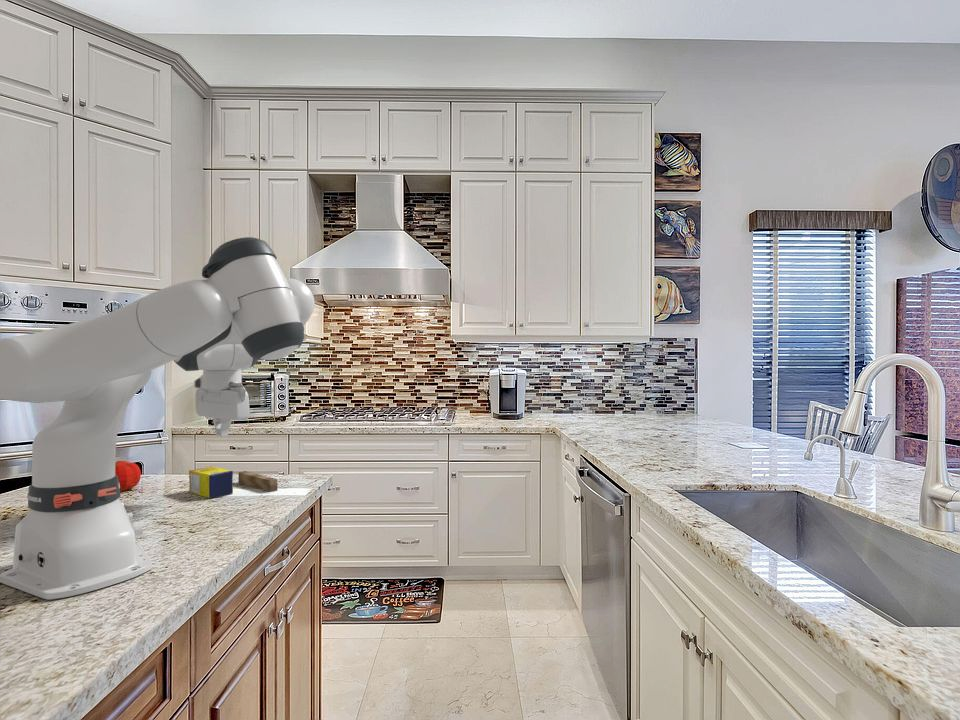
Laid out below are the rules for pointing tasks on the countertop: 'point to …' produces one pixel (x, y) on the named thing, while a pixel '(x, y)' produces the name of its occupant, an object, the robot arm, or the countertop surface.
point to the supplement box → (210, 482)
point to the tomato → (127, 474)
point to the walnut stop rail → (258, 481)
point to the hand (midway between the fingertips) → (221, 435)
